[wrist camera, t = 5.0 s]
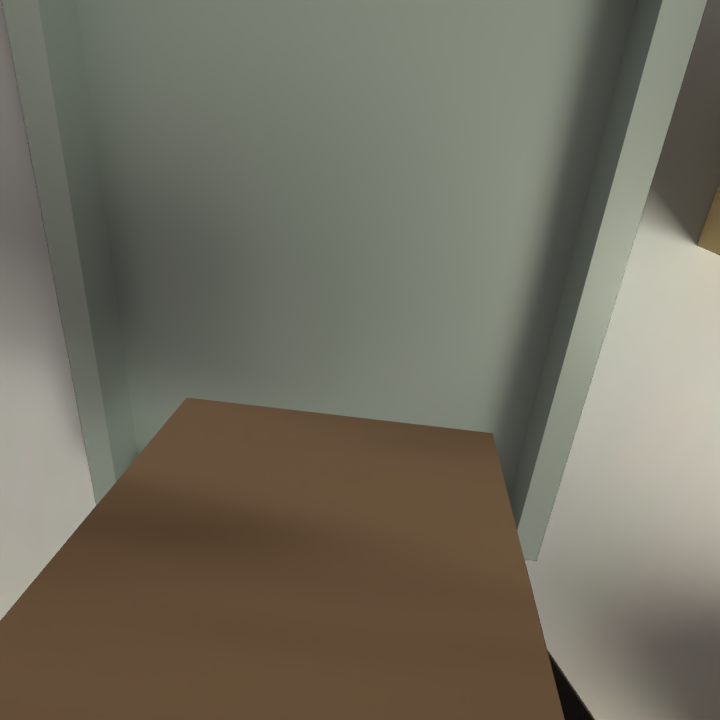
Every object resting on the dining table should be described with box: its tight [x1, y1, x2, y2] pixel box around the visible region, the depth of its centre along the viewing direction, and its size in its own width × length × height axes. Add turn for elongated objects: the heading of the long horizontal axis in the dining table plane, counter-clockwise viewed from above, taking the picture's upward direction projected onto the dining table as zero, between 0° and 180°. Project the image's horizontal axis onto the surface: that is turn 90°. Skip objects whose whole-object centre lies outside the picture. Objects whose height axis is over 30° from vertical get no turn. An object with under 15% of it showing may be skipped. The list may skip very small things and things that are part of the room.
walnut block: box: [0, 398, 565, 720], centre depth 7 cm, size 5×5×5 cm
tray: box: [2, 0, 707, 561], centre depth 14 cm, size 14×16×2 cm
